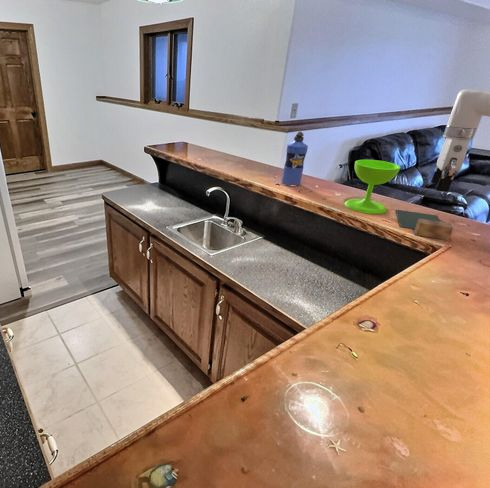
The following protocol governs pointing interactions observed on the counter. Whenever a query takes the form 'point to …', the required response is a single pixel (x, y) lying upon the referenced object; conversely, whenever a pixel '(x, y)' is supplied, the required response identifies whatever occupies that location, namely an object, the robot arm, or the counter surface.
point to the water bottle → (294, 161)
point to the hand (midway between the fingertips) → (438, 187)
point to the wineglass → (372, 184)
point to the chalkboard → (412, 218)
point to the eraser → (433, 229)
